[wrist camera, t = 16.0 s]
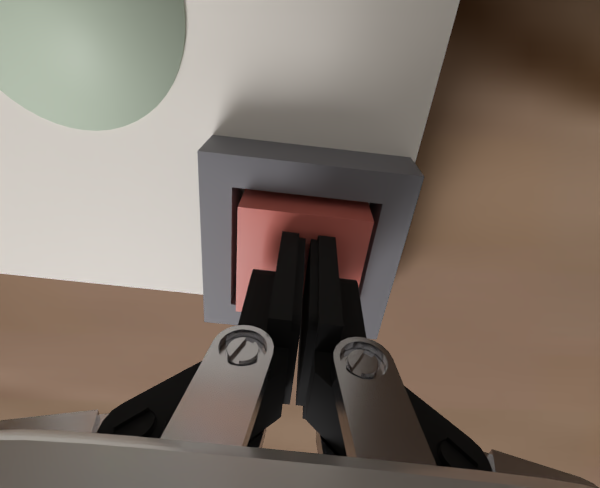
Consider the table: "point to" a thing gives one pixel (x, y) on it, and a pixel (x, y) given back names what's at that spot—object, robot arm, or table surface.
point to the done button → (299, 219)
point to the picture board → (206, 132)
